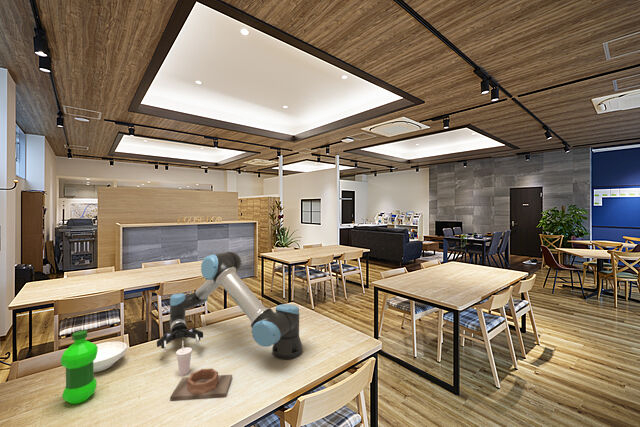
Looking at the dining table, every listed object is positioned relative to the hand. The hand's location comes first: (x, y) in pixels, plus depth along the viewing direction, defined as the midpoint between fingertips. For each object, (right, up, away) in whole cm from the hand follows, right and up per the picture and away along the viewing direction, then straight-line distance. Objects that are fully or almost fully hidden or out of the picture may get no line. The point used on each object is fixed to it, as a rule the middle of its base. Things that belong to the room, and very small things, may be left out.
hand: (182, 346), depth 129 cm
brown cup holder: (+17, -8, -18) cm, 27 cm away
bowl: (-35, -8, -4) cm, 36 cm away
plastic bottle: (-26, -8, -25) cm, 37 cm away
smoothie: (+5, -8, -8) cm, 12 cm away
